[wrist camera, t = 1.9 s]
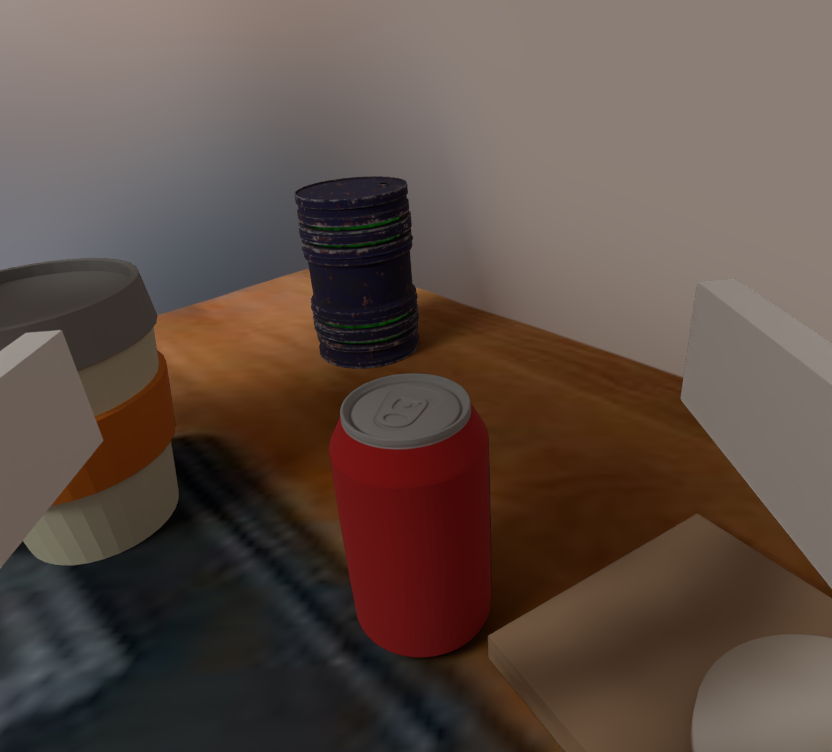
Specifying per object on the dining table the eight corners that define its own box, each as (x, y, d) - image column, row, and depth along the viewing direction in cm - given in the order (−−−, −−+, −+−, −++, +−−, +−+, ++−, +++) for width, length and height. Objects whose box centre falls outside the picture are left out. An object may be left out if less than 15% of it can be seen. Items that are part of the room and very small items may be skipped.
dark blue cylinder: (325, 377, 54) (297, 205, 47) (313, 335, 62) (288, 184, 55) (433, 357, 55) (422, 190, 48) (407, 319, 64) (394, 172, 57)
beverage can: (509, 579, 32) (509, 377, 26) (464, 690, 26) (452, 466, 21) (393, 547, 34) (370, 357, 29) (331, 643, 29) (289, 433, 23)
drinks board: (488, 658, 28) (487, 623, 27) (693, 534, 34) (699, 501, 32) (1090, 1395, 12) (1147, 1382, 11) (1276, 922, 18) (1324, 884, 17)
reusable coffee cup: (-59, 579, 35) (-203, 342, 28) (84, 452, 46) (7, 258, 39) (137, 600, 32) (34, 345, 25) (238, 460, 43) (186, 254, 36)
